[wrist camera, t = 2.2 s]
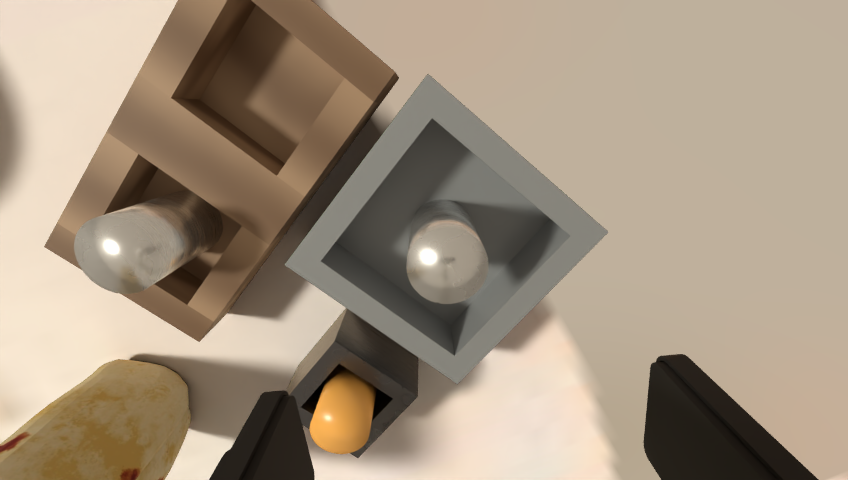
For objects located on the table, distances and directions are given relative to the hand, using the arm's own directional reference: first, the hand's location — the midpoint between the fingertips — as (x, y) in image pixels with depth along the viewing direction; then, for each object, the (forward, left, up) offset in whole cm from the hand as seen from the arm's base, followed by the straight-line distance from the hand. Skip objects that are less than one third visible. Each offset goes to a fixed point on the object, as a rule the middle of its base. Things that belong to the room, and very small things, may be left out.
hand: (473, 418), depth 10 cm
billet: (0, 0, -18) cm, 18 cm away
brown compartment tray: (+14, +5, -19) cm, 24 cm away
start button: (-2, +13, -16) cm, 21 cm away
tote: (0, 0, -19) cm, 19 cm away
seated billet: (+14, +11, -18) cm, 25 cm away
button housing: (-2, +13, -19) cm, 23 cm away
